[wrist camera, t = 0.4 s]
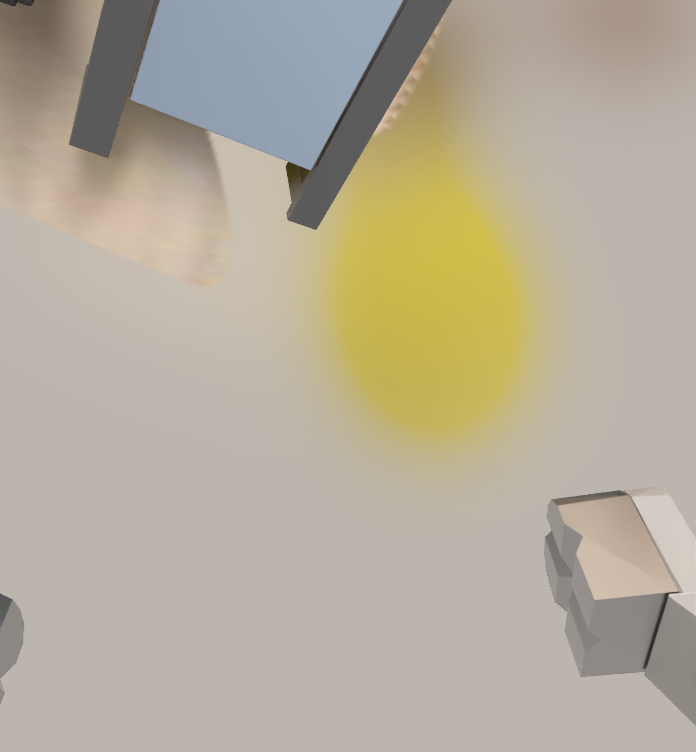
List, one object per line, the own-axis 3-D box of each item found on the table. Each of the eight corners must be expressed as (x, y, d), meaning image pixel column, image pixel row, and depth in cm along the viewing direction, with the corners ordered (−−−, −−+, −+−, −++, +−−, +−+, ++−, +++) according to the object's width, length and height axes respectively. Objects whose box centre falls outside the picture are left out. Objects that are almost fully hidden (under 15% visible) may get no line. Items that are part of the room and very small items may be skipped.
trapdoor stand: (173, -291, 37) (171, -271, 31) (452, -101, 46) (487, -60, 41) (81, 87, 52) (69, 144, 47) (305, 173, 61) (316, 229, 56)
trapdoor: (197, -128, 37) (197, -123, 36) (402, -10, 43) (405, -4, 42) (130, 92, 45) (130, 99, 45) (309, 163, 52) (310, 170, 51)
